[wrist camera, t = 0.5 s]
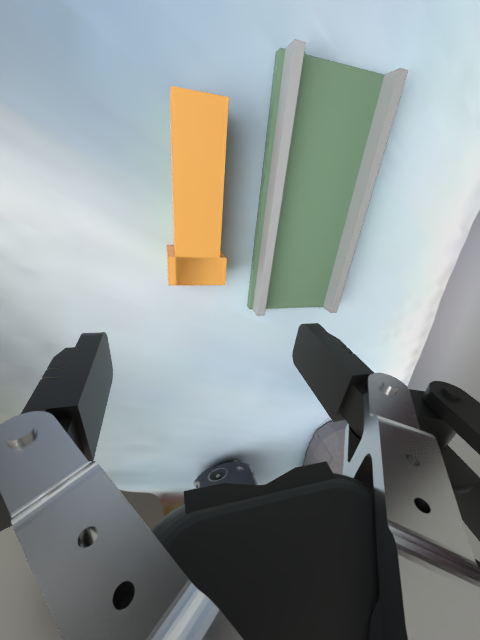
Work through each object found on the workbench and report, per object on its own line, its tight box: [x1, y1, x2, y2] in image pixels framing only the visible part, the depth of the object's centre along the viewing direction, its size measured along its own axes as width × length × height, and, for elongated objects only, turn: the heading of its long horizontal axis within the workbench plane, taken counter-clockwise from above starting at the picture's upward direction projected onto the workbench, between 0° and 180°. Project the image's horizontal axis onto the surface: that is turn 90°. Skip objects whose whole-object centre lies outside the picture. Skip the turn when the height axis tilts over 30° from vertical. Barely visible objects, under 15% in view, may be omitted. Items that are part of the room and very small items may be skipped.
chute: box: [167, 86, 229, 285], centre depth 26 cm, size 16×6×5 cm, turn 175°
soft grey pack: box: [303, 420, 348, 474], centre depth 56 cm, size 15×8×20 cm
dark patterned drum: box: [194, 460, 257, 488], centre depth 45 cm, size 11×20×20 cm, turn 2°
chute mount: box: [247, 39, 408, 316], centre depth 30 cm, size 26×13×3 cm, turn 175°
